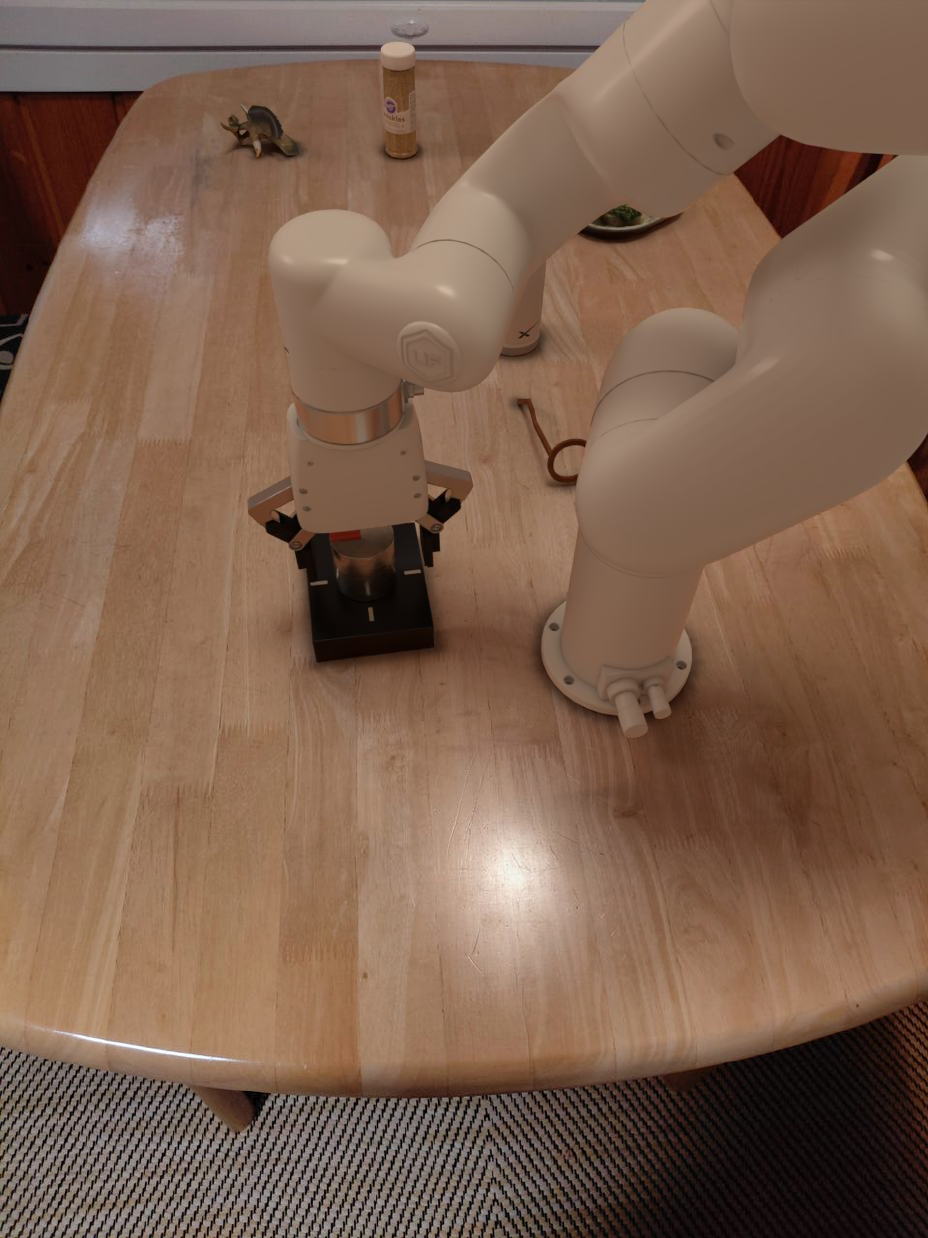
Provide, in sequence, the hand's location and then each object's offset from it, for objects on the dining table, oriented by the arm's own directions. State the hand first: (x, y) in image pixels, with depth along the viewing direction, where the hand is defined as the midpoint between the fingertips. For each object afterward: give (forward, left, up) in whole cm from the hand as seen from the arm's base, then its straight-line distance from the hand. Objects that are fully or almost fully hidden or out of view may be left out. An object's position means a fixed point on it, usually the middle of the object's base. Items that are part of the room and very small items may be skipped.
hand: (370, 562), depth 78 cm
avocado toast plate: (+62, -38, -5) cm, 73 cm away
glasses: (+18, -25, -6) cm, 31 cm away
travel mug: (+35, -20, -5) cm, 41 cm away
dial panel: (0, 0, -5) cm, 5 cm away
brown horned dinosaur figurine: (+83, +6, -6) cm, 84 cm away
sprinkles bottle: (+80, -13, -5) cm, 81 cm away
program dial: (0, 0, -2) cm, 2 cm away
